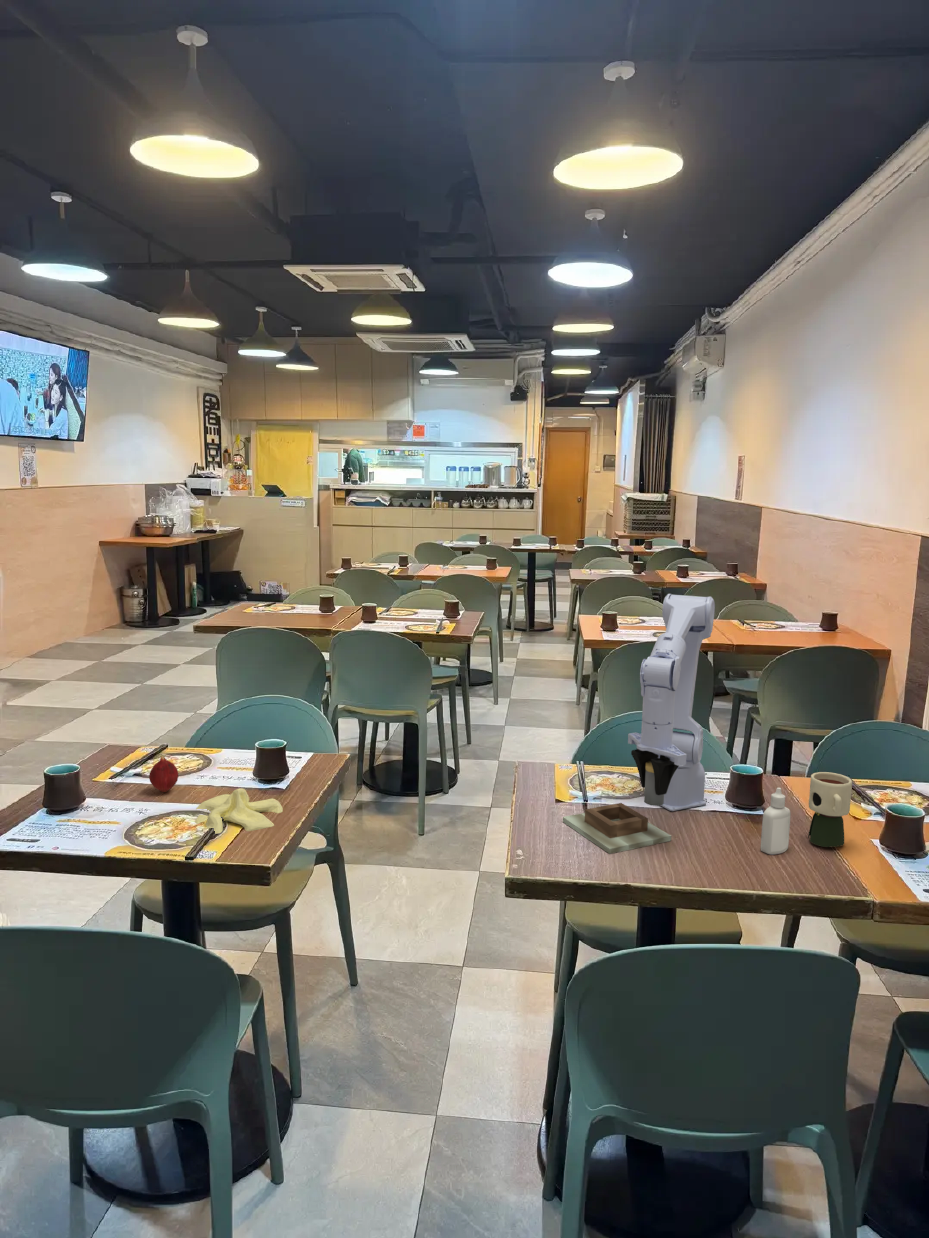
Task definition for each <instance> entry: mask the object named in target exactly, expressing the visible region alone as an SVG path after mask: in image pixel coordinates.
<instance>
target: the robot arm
mask: <svg viewBox="0 0 929 1238" xmlns="http://www.w3.org/2000/svg"><path fill="white" fill-rule="evenodd" d="M662 602H663V603H662V613H661V614H662V615H661V616H662V619H663V621H664V625H665V632H664V633H661V634H660V635H658V637H657V639H656V640H655V644H654V645H653V648H652V651H651V652H650V655H649V656H648V657H647V658H643V659H642V662H641V666H640V669H639V671H640V672H639V681H640V682H639V683H640V695H641V697H642V713H641V715H642V716H641V730H640V731H641V733H639V732H631V733H628V734H627V735H628V736H627V738H628V739H627V744H628V745H629V744H630V745H636V749H632V750H631V751H630V755H631V756H632V758H633V761H634V763H635V765H636V767H637V771H638V775H639V779H640V784H641V785H640V786H641V788H643V789H645V773H646V769H645V768H646V762H648V761H651V764H652V766H653V770H654V776H655V793H656V795H663V794H664V803H663V804H662V805H659V806H661V807H663V808H664V809H666V810H668V811H670V812H674V811H675V812H676V811H680V810H685V809H689V808H690V809H691V808H696V807H701V806H706V804H707V802H706V801H704V800H705V783H706V771H705V768H704V766H703V764H702V763H701V760H702V756H703V749H704V730H703V728H702V727H703V726H701V725H700V724H699V723H698V722H697V720H696V721H695V719H694V718H693V717H692V716H693V715H692V713H693V705H694V699H695V698H694V695H695V689H696V679H697V671H698V663H699V655H700V649H701V647H702V646H701V645H702V643H703V641H704V640H705V639H709V638H710V637H711V636H712V633H713V630H714V629H713V628H714V621H715V620H714V619H715V612H716V611H715V609H716V608H715V607H716V604H715V600H714V598H713V597H712V596H695V595H682V594H672V593H667V594H666V595H665V597H664V598H663V601H662ZM675 730H678V731H675ZM679 730H680V731H679ZM682 731H683V732H682ZM684 731H686V732H684ZM687 731H688V732H687ZM690 732H691V733H690Z"/></svg>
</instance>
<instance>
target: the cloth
mask: <svg viewBox="0 0 929 1238" xmlns="http://www.w3.org/2000/svg"><path fill="white" fill-rule="evenodd" d="M283 808H284V807H283V806H282V804H281V802H280V801H279V800H277V799H275V798H273V797H272V798H268V799H263V800H257V801H250V796H249V795H248V792H247V790H246V789H245V788H242V787H241V788H236V789H234V790H233V791H232V793H231V794H228V793H225V794H224V793H223V794H220V795H217V796H214V797H212V798H209V799H207V800H204V801H202V802H201V803H200V804H199V805H198V806H197V807H196V809H195V810H197V809H207V810H206V811H208V810H209V814H208V815H206V814H198V816H197V818H196V819H195V820H194V823H195V824H196V825H199V824H200V823H203V822H204V821H206V820H207V821H206V822H205V826H206V830H207V829H209V828H214V831H215V834H221V833H222V832H223V829H224V828H223V827H224V825H223V822H228V823H234V824H238V825H241V826H242V827H243V829H244V830H245V831H246V832H253V831H257V830H263V829H268V828H272V827H275V824H274V823H273V822H272V821H271V820H270V819H268V817H267V816H265V815H264V814H262V813H270V812H272V813H274V814H281V813H283V812H284V811H283ZM221 817H223V819H224V821H222V818H221ZM215 834H214V835H215Z"/></svg>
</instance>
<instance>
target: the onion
mask: <svg viewBox="0 0 929 1238" xmlns="http://www.w3.org/2000/svg"><path fill="white" fill-rule="evenodd" d="M159 759H160V760H159V761H158V762H156V763H155V764H154V765H153V766H152V768H151V770H150V772H149V777H148V778H149V783H150V784H151V785H152V787H153V788H155V789H156V790H158V791H159V792H161V793H163V792H165V793H168V792H169V790H170V789H172V788H173V787H174V786H175V785H176V784H177V782H178V779H179V771H178V768H177V766H176V765H175V764H174V763H173V762H171V761H169V760H167V759H166V757H165V756H163V755H161V756H160V758H159Z"/></svg>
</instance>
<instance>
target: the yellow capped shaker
mask: <svg viewBox="0 0 929 1238" xmlns="http://www.w3.org/2000/svg"><path fill="white" fill-rule="evenodd" d="M645 769H646V773H645V788H644V797H643V798H644V799H643V802H644V804H646V805H648V806H653V807H654V806H656V807H658V806H660V805H662V804H663V803H664V794H663V795H656V793H655V776H654V770H653V766H652V764H651V761H648V762H646V768H645Z"/></svg>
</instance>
